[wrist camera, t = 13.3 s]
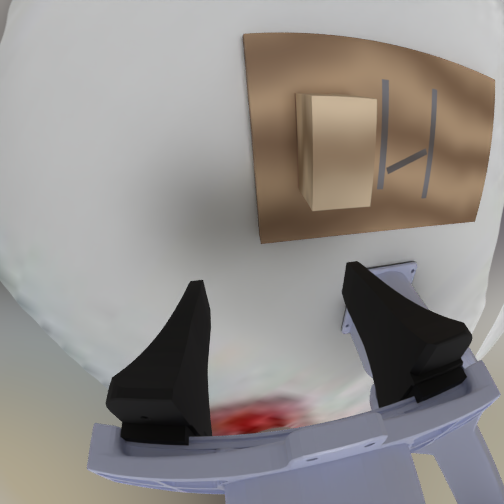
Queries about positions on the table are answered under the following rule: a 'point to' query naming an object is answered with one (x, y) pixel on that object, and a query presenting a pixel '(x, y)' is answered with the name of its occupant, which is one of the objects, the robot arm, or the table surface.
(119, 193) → the table surface
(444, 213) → the board
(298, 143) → the block
